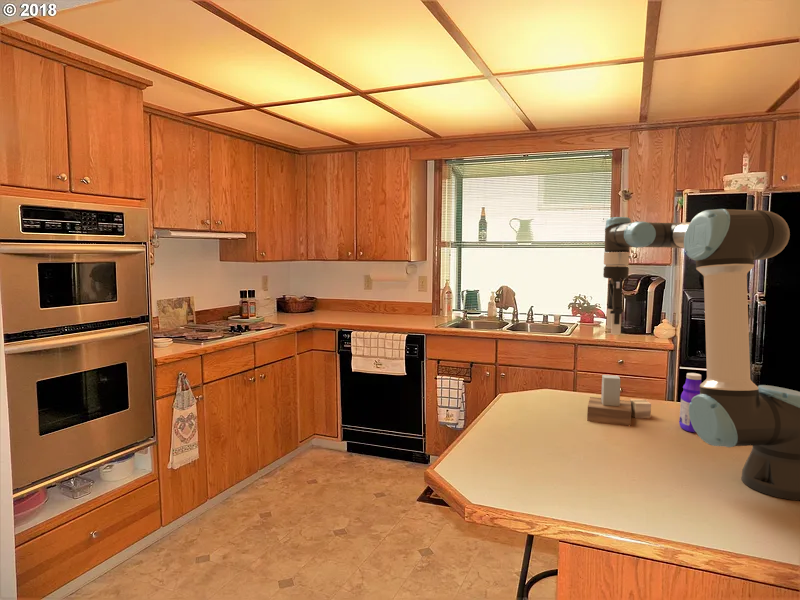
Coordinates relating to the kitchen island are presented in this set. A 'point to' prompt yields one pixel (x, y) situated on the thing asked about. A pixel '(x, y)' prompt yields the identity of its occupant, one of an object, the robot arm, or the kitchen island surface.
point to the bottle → (688, 399)
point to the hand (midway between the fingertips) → (613, 331)
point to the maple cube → (640, 408)
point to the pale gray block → (610, 390)
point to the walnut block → (609, 412)
